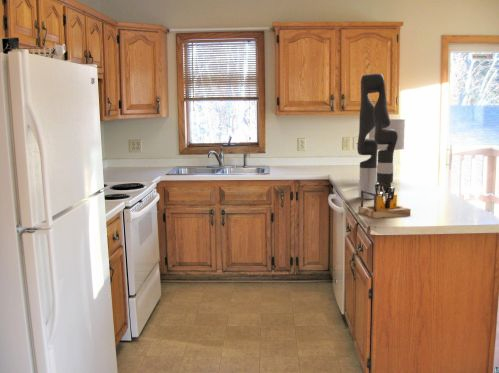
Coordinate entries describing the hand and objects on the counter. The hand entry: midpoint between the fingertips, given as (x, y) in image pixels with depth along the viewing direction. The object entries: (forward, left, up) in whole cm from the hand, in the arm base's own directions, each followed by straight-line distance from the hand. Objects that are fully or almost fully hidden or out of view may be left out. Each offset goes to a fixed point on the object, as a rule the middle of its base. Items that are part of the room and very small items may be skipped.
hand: (384, 206), depth 250 cm
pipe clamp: (0, 0, -1) cm, 1 cm away
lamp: (-90, +57, -4) cm, 107 cm away
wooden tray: (0, 0, -3) cm, 3 cm away
